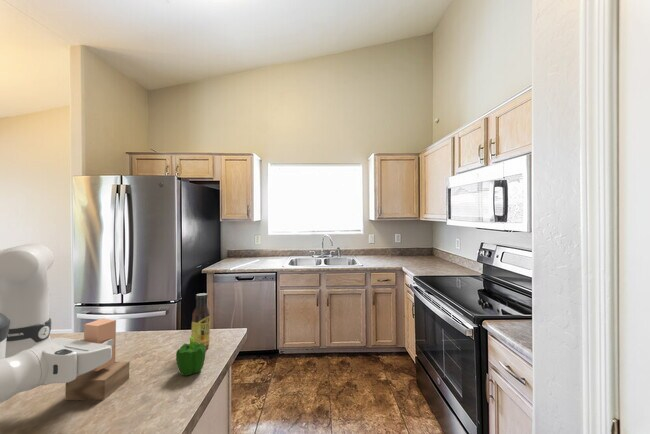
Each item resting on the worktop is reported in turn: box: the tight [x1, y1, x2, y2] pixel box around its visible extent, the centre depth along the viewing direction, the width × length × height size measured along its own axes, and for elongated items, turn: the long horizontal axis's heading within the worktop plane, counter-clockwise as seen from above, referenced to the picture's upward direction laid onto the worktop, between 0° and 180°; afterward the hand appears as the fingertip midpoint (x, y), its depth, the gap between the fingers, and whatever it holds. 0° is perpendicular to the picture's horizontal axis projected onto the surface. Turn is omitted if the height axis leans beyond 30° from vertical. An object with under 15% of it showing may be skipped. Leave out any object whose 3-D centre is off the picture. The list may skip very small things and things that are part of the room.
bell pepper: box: [175, 336, 207, 376], centre depth 90 cm, size 8×8×10 cm
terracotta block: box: [83, 318, 117, 371], centre depth 81 cm, size 5×5×12 cm
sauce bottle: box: [190, 292, 211, 350], centre depth 106 cm, size 7×6×20 cm
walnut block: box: [64, 361, 130, 401], centre depth 80 cm, size 10×10×5 cm
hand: (103, 340), depth 82 cm, fingers closed on terracotta block, 5 cm apart
